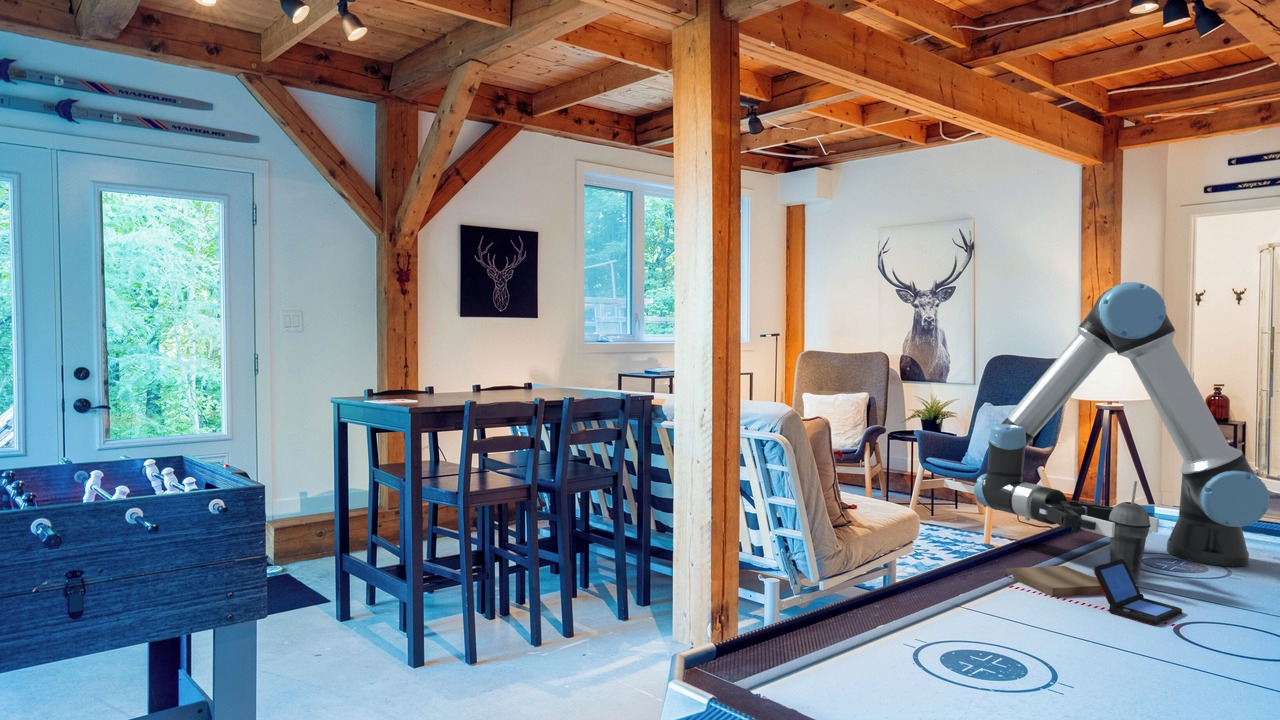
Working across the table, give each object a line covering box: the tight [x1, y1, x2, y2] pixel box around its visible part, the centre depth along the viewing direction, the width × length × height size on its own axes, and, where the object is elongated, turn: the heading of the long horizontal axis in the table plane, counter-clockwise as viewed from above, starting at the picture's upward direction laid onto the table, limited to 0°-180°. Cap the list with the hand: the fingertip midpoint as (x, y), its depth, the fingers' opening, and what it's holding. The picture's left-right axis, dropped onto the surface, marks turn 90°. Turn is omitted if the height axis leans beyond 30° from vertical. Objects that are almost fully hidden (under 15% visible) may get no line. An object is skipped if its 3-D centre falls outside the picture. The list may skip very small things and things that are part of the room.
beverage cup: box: [1108, 480, 1151, 585], centre depth 165 cm, size 7×7×20 cm
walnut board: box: [1005, 565, 1104, 597], centre depth 161 cm, size 14×12×2 cm
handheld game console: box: [1093, 559, 1183, 626], centre depth 147 cm, size 12×11×7 cm
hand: (1136, 527), depth 163 cm, fingers open, 13 cm apart
